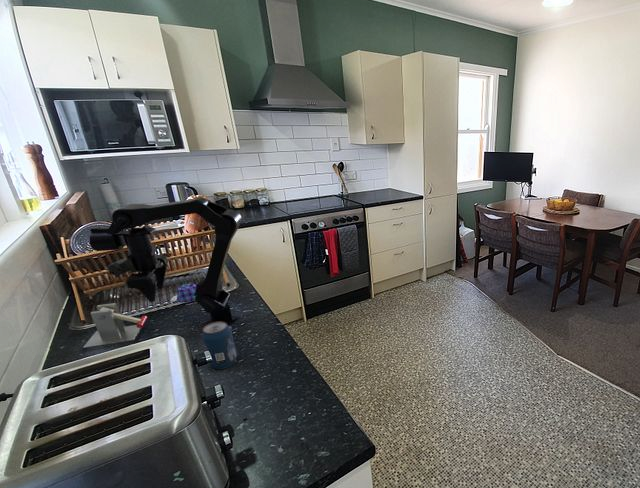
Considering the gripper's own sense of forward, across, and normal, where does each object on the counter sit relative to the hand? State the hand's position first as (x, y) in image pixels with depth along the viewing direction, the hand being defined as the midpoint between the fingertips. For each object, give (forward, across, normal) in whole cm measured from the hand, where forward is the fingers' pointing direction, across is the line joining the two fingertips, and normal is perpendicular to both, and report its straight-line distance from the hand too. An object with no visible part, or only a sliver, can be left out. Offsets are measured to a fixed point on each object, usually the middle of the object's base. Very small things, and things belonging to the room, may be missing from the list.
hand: (156, 294), depth 108 cm
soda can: (+12, +26, +19) cm, 34 cm away
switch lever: (+6, +2, -10) cm, 12 cm away
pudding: (+12, -18, +3) cm, 22 cm away
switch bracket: (+12, +2, -13) cm, 18 cm away
